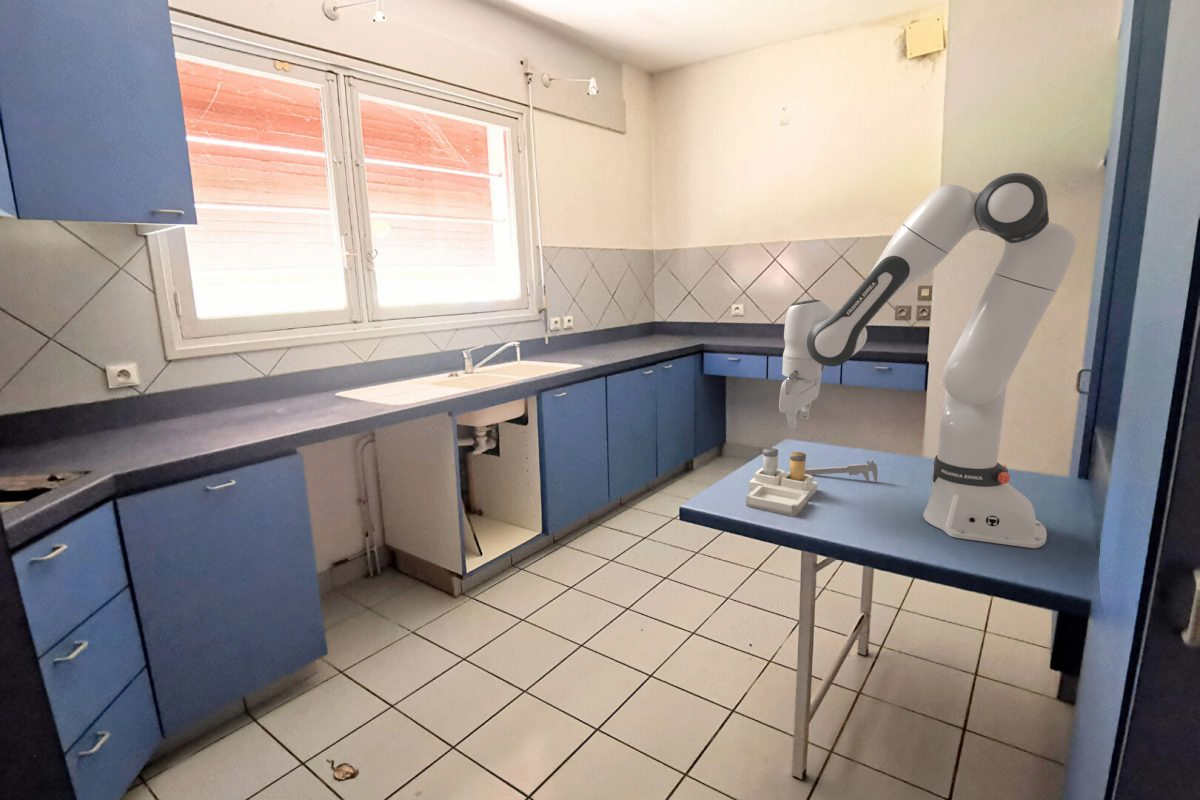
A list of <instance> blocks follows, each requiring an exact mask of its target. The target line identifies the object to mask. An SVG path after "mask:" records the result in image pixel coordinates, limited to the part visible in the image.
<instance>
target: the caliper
mask: <svg viewBox="0 0 1200 800" xmlns="http://www.w3.org/2000/svg"><path fill="white" fill-rule="evenodd" d="M870 461H871V462H870ZM870 461H869V459H867V460H866V463H855V464H854V463H853V464H847V466H832V467H815V468H813V467H812V468H805V474H808V475H810V476H813V475H815V476H816V475H827V474H828V475H829V474H846V473H847V474H848V475H849V476H857V475H860V474H862V475H863V477H864V479H865V481H866V483H870V475H869V472H871V473H872V476H873V480H874V481H873V482H874V483H877V481H878V472H879V470H878V466H877V463H874V460H873V459H871V460H870Z"/></svg>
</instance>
